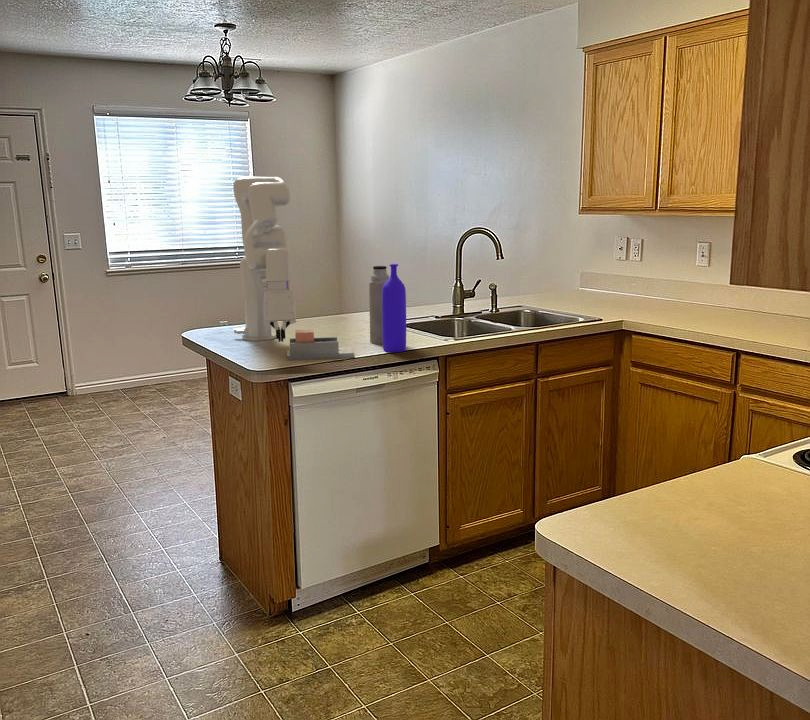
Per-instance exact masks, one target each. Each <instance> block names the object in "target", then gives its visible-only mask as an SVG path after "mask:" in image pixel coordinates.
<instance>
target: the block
mask: <svg viewBox="0 0 810 720" xmlns="http://www.w3.org/2000/svg"><path fill="white" fill-rule="evenodd" d="M294 331H295V333H294V335H295V338H296V343H301V342H314V338H315V335H314V334H315V333H314V329H295V330H294Z"/></svg>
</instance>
